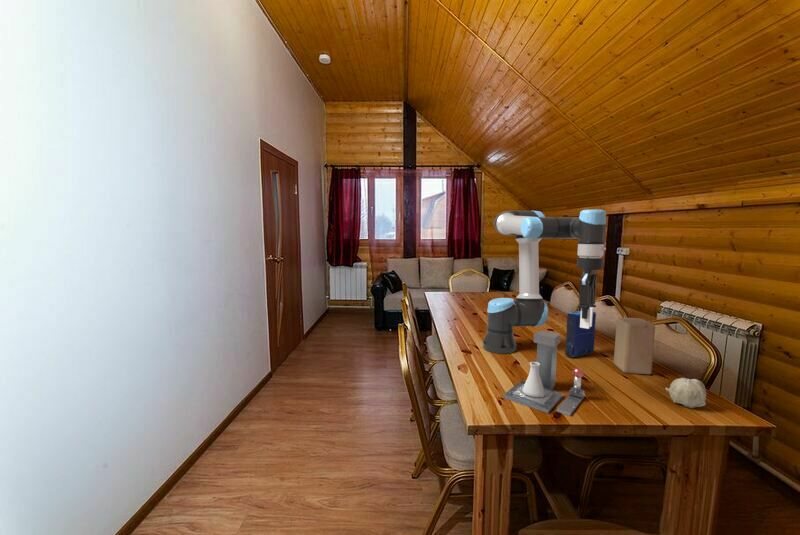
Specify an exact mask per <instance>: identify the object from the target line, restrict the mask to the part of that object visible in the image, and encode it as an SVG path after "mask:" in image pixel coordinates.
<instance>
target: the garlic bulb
mask: <svg viewBox="0 0 800 535" xmlns="http://www.w3.org/2000/svg"><path fill="white" fill-rule="evenodd" d="M665 390H666V392H669V396H670V399H672V401H673V403H676V404H680V405H682V406H683V407H685V408H688V409H694V408H700V407H703V406H706V404H707V403H706V399H707V389H706V387H705V384H704V383H703V382H702V381H701V380H698V379H696V378H693V379H692V378H691V379H690V378H686V377H680V378H679V377H678V378H675V379H673V381H672V382H671V383H670V385H669V388H668V387H665Z"/></svg>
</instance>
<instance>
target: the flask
mask: <svg viewBox="0 0 800 535" xmlns="http://www.w3.org/2000/svg"><path fill="white" fill-rule="evenodd" d="M529 365H530V369H529V373H528V376H527V377H526V380H525V381H524V382H525V385H524V387H523V389H522V391H523V392H524V394H525V395H529V396H532V397H544V395H545V390H544V388H543V385H542V381H541V378H540V373H539V366H540V364H539V363H538V362H537V361H530V362H529Z"/></svg>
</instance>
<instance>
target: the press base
mask: <svg viewBox="0 0 800 535" xmlns="http://www.w3.org/2000/svg"><path fill="white" fill-rule="evenodd" d="M561 338H562V334H560V333H557V332H551V331H546V330H538V331H537V332H535V333H533V343H535V344H536V345H537V346H536V362H538V363H539V364H540V366H539V373H540V378H541V381H542V385H543V388H544V390H545V395H544V397H532V396H529V395H525V394H524V392H523V391H522V389H523V387H524V385H525V382H526V381H523V380H521V381H519V382H518V383H516V384H515V385H514V386H512V387H511V388H510V389H509V390H507V391H506V392H504V393H503V399H506V400H509V401H511V402H515V403H517V404H520V405H523V406H524V407H525V406H526V407H528V408H532V409H534V410H537V411H540V412H543V413H545V414H549V413H550V412H551V411H552V409H553V408H554V407H555V406H556V405H557V404H558V403H559V401H561V399H562V398H563V396H564V393H563V392H561V391H556V390H553V389H554V388H555V386H556V376H557V375H556V372H557V358H558V357H557V356H558V345H559V344H561V340H562V339H561ZM585 395H586V394H585V393H584V395H583V396H582V397H577V396H574V395H571V394H569V393H568V395H567V396H566V398H565V399H564V400H563V401H562V402H561V403H560V405H559V406H558V407H557V408H556V409H557V410H556V411H557V412H558V413H561V414H563V415H566V416H569V417H570V416H571V415H572V414H573V412H574V411H575V410H576V409H577V407H578V406H579V405H580V403H581V402H582V401H583V399H584V398H585Z"/></svg>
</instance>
